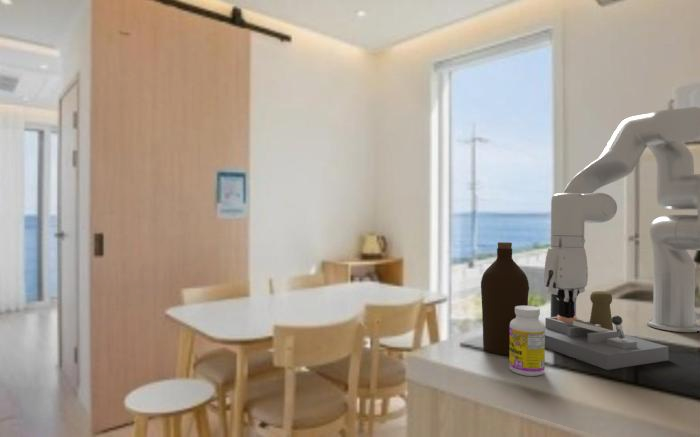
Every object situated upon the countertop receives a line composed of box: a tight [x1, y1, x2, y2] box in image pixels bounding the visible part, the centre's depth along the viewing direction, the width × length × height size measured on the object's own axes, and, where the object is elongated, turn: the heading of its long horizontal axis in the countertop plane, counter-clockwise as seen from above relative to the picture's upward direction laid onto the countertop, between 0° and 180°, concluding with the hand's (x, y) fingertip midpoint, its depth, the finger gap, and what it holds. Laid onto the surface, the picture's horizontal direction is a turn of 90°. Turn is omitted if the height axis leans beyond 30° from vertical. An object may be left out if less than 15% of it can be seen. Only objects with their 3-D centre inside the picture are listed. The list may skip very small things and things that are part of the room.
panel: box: [544, 316, 670, 371], centre depth 108 cm, size 18×24×6 cm
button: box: [557, 315, 578, 323], centre depth 115 cm, size 4×4×3 cm
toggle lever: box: [612, 315, 625, 339], centre depth 101 cm, size 2×2×5 cm
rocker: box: [573, 320, 612, 332], centre depth 107 cm, size 9×4×1 cm, turn 111°
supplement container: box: [550, 290, 577, 317], centre depth 133 cm, size 7×7×10 cm
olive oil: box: [480, 241, 530, 356], centre depth 108 cm, size 11×11×25 cm
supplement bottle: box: [508, 305, 546, 377], centre depth 93 cm, size 7×7×13 cm
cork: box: [589, 290, 614, 331], centre depth 124 cm, size 6×6×11 cm
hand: (566, 316), depth 115 cm, fingers closed
